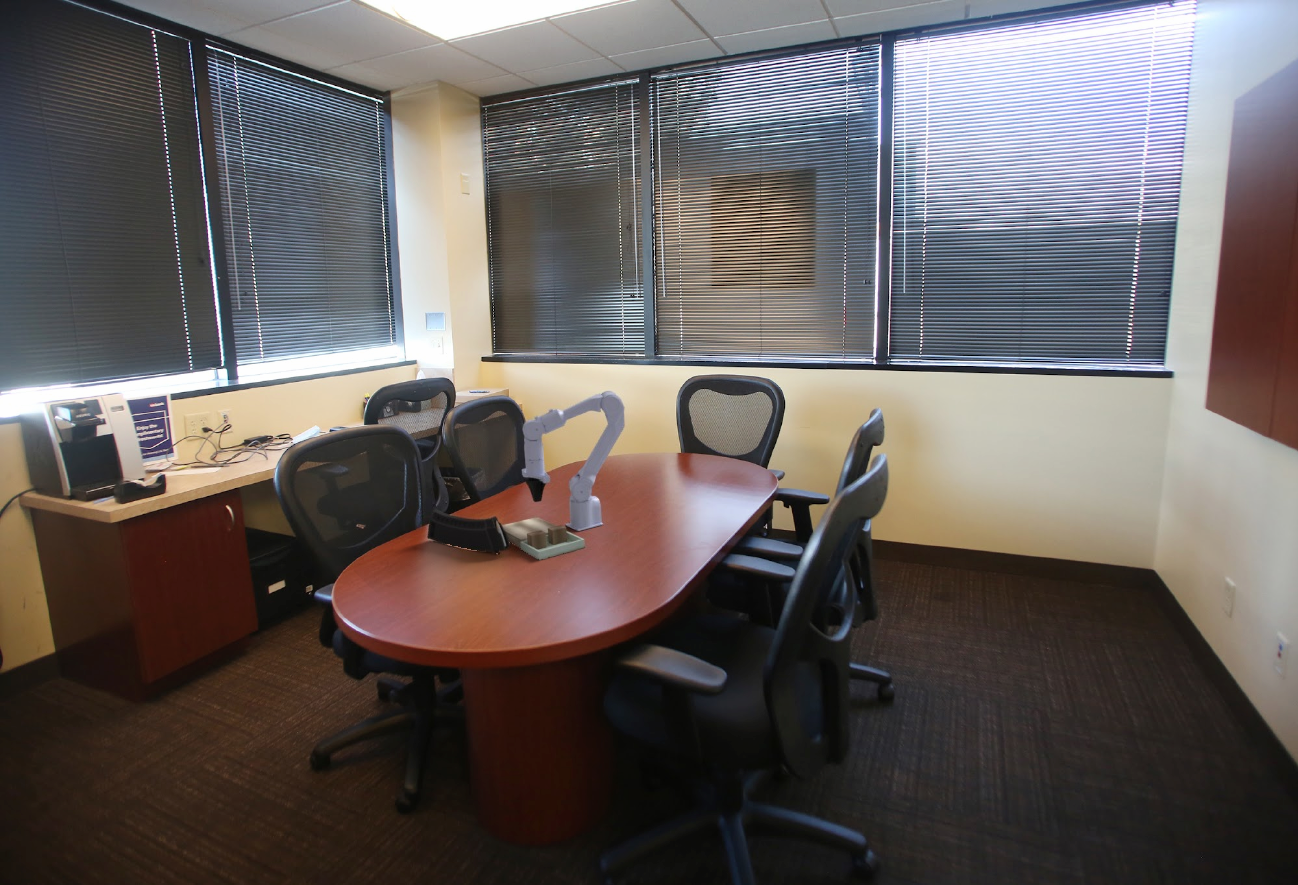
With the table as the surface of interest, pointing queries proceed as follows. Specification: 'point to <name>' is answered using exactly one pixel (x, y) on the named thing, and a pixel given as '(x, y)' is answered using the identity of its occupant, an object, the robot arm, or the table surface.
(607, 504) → the table surface
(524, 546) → the box
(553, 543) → the walnut block
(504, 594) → the table surface
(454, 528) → the magazine
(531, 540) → the walnut block
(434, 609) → the table surface
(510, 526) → the maple board
